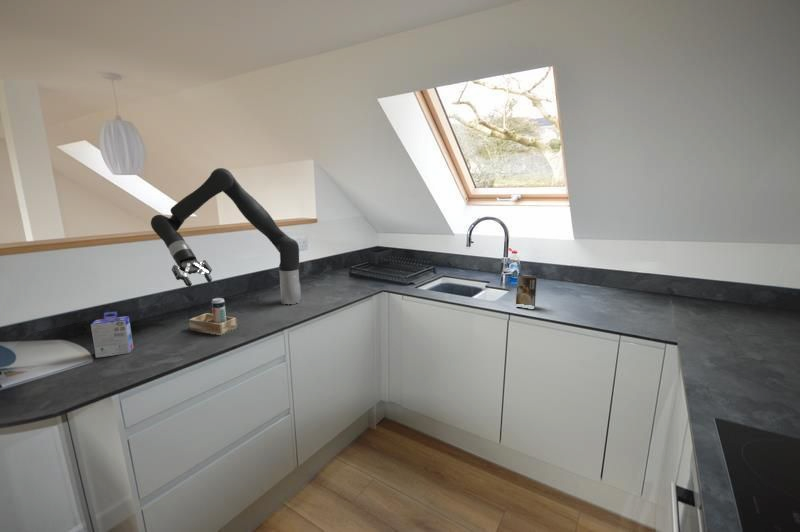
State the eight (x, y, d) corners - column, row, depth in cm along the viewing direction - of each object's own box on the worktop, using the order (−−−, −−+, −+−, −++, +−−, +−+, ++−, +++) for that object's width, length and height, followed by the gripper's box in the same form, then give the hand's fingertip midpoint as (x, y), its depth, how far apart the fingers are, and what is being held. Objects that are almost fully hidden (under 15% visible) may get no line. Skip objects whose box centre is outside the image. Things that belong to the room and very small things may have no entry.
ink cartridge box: (134, 347, 133) (128, 309, 130) (130, 353, 128) (125, 313, 125) (100, 352, 129) (93, 312, 126) (95, 358, 124) (88, 317, 121)
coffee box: (535, 306, 184) (537, 275, 181) (534, 310, 178) (537, 278, 175) (516, 304, 188) (518, 273, 184) (514, 308, 182) (517, 276, 179)
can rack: (207, 323, 158) (206, 313, 157) (237, 328, 152) (236, 317, 151) (189, 330, 150) (188, 319, 149) (220, 335, 144) (219, 324, 143)
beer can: (216, 325, 152) (213, 297, 149) (228, 325, 152) (226, 297, 150) (212, 329, 147) (209, 301, 144) (224, 329, 147) (221, 300, 145)
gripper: (167, 250, 148) (186, 281, 144) (201, 246, 160) (219, 274, 156) (161, 261, 152) (180, 292, 148) (195, 256, 164) (213, 285, 160)
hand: (200, 283), depth 152 cm, fingers open, 8 cm apart
